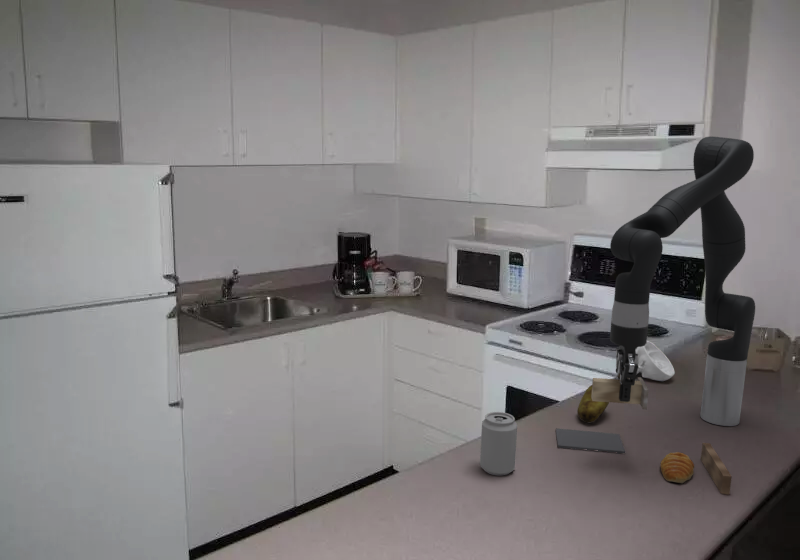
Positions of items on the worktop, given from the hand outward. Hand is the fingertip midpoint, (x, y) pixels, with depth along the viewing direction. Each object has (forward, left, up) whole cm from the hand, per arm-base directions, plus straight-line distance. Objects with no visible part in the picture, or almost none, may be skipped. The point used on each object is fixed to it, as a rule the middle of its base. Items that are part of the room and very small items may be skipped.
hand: (623, 398), depth 147 cm
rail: (+3, +20, -15) cm, 25 cm away
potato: (-25, -3, -15) cm, 30 cm away
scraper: (0, -2, -1) cm, 2 cm away
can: (+10, -26, -15) cm, 32 cm away
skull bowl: (-63, +17, -15) cm, 67 cm away
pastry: (+3, +12, -15) cm, 20 cm away
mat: (-9, -5, -15) cm, 18 cm away
